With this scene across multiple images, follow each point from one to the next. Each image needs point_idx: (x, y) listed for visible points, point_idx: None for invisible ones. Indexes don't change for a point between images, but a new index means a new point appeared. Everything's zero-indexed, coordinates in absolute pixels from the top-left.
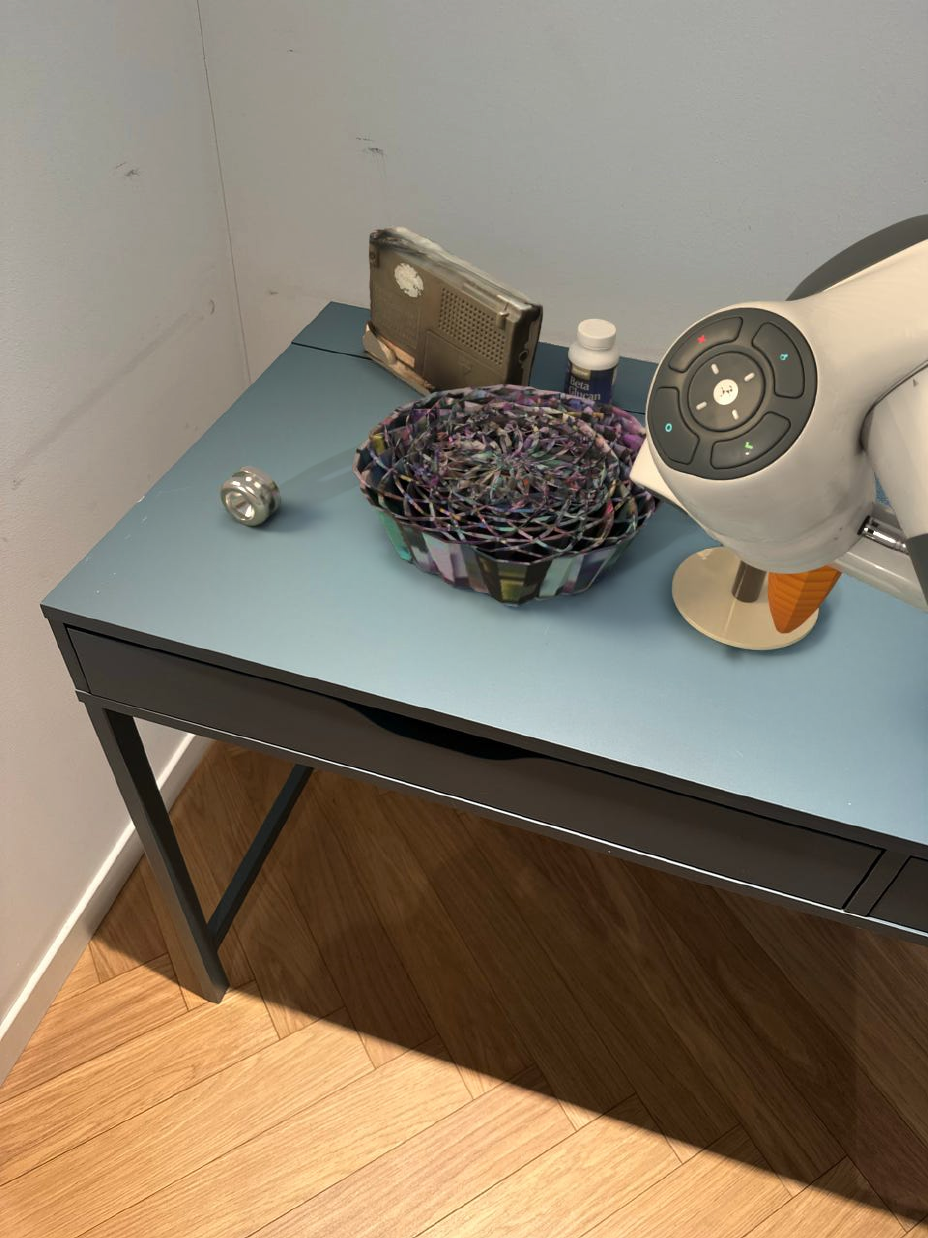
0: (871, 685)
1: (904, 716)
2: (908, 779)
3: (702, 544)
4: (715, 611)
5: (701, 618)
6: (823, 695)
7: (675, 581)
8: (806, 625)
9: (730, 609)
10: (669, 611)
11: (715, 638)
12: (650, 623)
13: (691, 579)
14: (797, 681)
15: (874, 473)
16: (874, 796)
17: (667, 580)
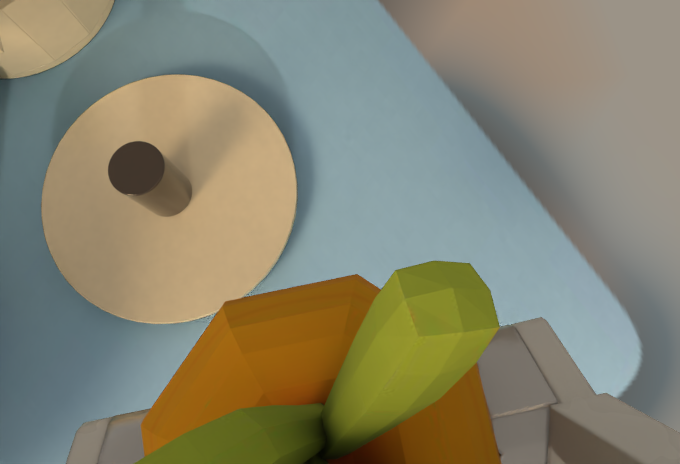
0: (425, 172)
1: (497, 182)
2: (583, 280)
3: (36, 145)
4: (164, 270)
5: (159, 305)
6: (395, 251)
7: (67, 273)
8: (285, 167)
9: (177, 244)
10: (108, 319)
11: (206, 316)
12: (106, 369)
13: (82, 245)
14: (350, 262)
15: (488, 306)
16: (577, 351)
17: (55, 264)
